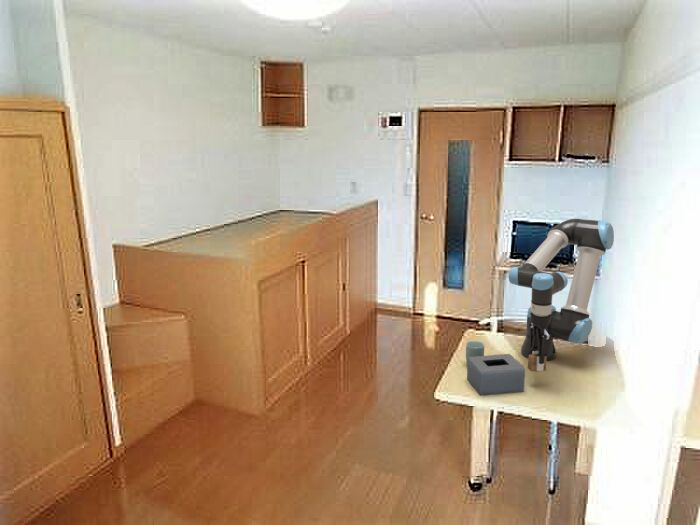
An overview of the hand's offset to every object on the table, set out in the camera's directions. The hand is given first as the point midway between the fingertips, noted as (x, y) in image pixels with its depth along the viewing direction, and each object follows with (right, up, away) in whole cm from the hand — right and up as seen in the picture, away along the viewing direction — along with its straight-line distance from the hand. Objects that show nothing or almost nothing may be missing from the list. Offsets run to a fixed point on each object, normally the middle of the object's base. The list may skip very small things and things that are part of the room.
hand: (537, 368), depth 206 cm
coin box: (-17, -7, +2) cm, 18 cm away
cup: (-20, -3, +20) cm, 29 cm away
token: (0, -1, 0) cm, 1 cm away
